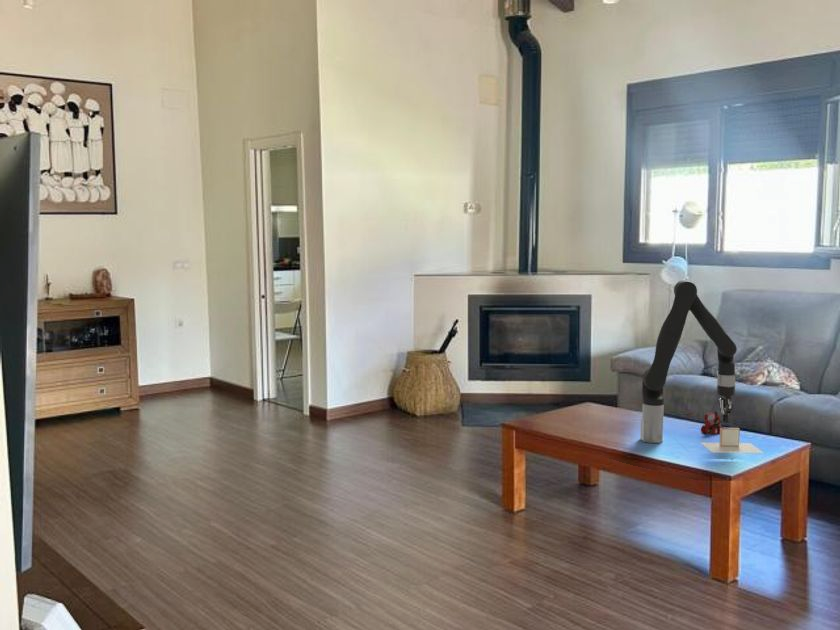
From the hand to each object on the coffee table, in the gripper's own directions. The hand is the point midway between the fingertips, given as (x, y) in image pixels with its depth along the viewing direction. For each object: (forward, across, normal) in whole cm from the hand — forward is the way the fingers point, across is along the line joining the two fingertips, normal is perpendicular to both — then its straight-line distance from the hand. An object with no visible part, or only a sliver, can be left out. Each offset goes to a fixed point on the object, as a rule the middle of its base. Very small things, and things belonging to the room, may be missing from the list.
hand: (725, 422), depth 354 cm
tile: (+9, +7, 0) cm, 11 cm away
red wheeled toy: (+10, -18, +1) cm, 21 cm away
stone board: (+10, +10, 0) cm, 14 cm away
